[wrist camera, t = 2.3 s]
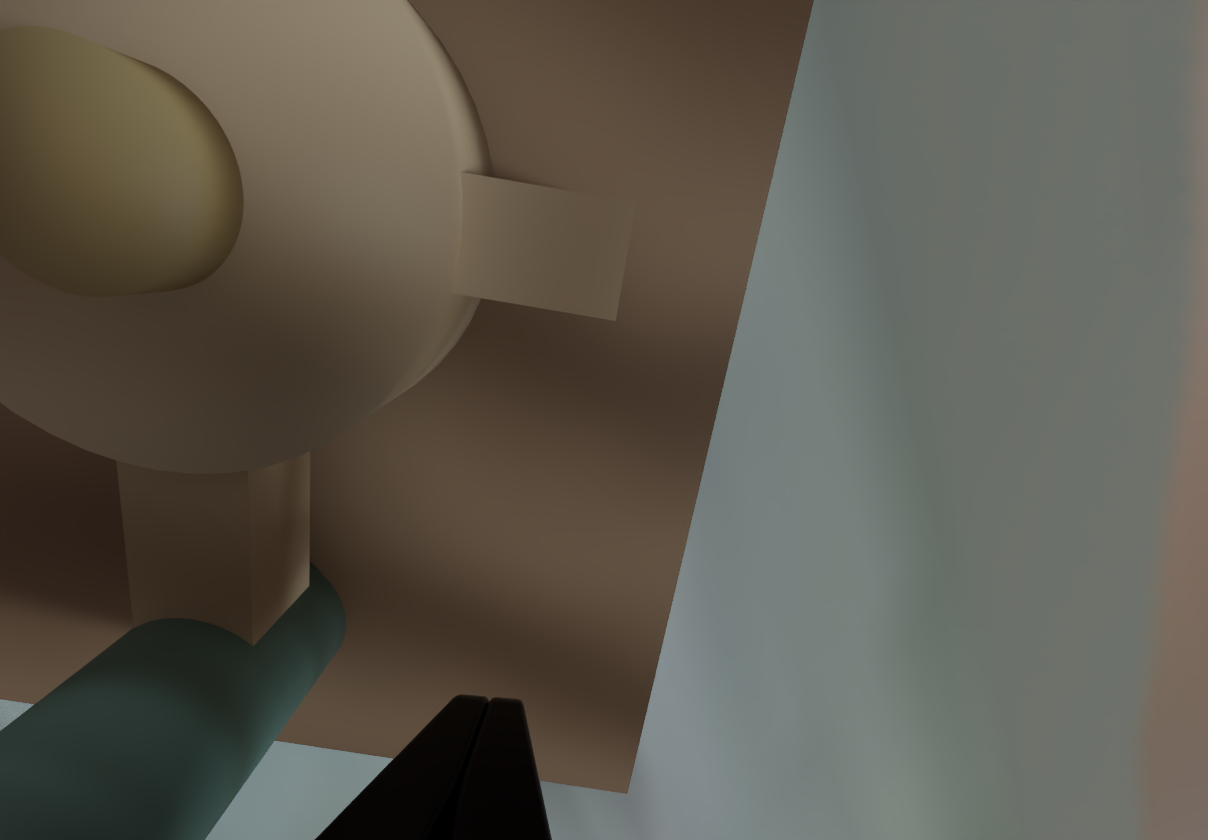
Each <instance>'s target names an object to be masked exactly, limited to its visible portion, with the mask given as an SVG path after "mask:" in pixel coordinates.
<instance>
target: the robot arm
mask: <svg viewBox="0 0 1208 840" xmlns="http://www.w3.org/2000/svg"><path fill="white" fill-rule="evenodd" d="M315 840H552V839H551V834H550V829H549V824H548V819H547V814H546V810H545V805H544V800H543V795H542V790H541V786H540V781H539V776H538V771H537V766H536V762H535V757H534V752H533V747H532V742H531V738H530V733H529V728H528V723H527V718H526V714H525V709H524V704H523V702H522V701H521V700H520V699H513V698H501V697H494V698H492V699H491V700H490V701H489V699H488V698H487V697H485V696H477V695H465V694H460V695H457V696H455V697H454V698H453V699H452V700H451V701H450V702H449V703H448V704H447V705H446V706H445V707H444V708H443V709H442V710H441V711H440V712H439V713H438V714H437V715H436V716H435V717H434V718H433V719H432V720H431V721H430V722H429V723H428V724H427V725H426V726H425V727H424V728H423V729H422V730H421V731H420V732H419V733H418V734H417V735H416V737H415V738H414V739H413V740H412V741H411V742H410V743H409V744H408V745H407V746H406V747H405V748H404V749H403V750H402V751H401V752H400V753H399V754H398V755H397V756H396V757H395V758H394V759H393V760H392V761H391V762H390V763H389V764H388V765H387V766H386V767H385V768H384V769H383V770H382V771H381V772H380V773H379V774H378V775H377V776H376V778H375V779H374V780H373V781H372V782H371V783H370V784H369V785H368V786H367V787H366V788H365V789H364V790H363V791H362V792H361V793H360V794H359V795H358V796H357V797H356V798H355V799H354V800H353V801H352V802H351V803H350V804H349V805H348V806H347V807H346V808H345V809H344V810H343V811H342V812H341V813H340V814H339V815H338V816H337V818H336V819H335V820H334V821H333V822H332V823H331V824H330V825H329V826H328V827H327V828H326V829H325V830H324V831H323V832H322V833H321V834H320V835H319V836H318V837H317V838H316V839H315Z"/></svg>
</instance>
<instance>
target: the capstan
mask: <svg viewBox="0 0 1208 840" xmlns="http://www.w3.org/2000/svg"><path fill="white" fill-rule="evenodd" d="M635 204H636V202H631V201H625V200H619V199H614V198H608V197H602V196H596V195H591V194H585V193H579V192H573V191H568V190H562V189H556V188H550V187H545V186H539V185H533V184H528V183H522V182H516V181H510V180H505V179H499V178H494V171H493V166H492V161H491V157H490V152H489V147H488V142H487V138H486V135H485V132H484V129H483V126H482V123H481V120H480V117H479V114H478V111H477V108H476V105H475V103H474V101H473V99H472V97H471V94H470V92H469V90H468V88H467V86H466V84H465V81H464V79H463V77H462V75H461V73H460V71H459V70H458V68H457V66H456V65H455V63H454V61H453V60H452V58H451V57H450V55H449V53H448V52H447V50H446V48H445V47H444V45H443V43H442V42H441V40H440V39H439V38H438V37H437V35H436V34H435V33H434V32H433V30H432V29H431V28H430V26H429V25H428V24H427V23H426V21H425V20H424V19H423V18H422V16H421V15H420V14H419V12H418V11H417V10H416V9H415V8H414V7H413V5H412V4H411V3H410V2H409V1H408V0H0V403H2V404H3V405H4V406H6V407H7V408H8V409H10V410H11V411H13V412H14V413H15V414H17V415H19V416H21V417H22V418H24V419H26V420H27V421H29V422H31V423H33V424H34V425H36V426H38V427H39V428H41V429H43V430H45V431H46V432H48V433H50V434H52V435H54V436H56V437H58V438H60V439H63V440H65V441H67V442H69V443H71V444H74V445H76V446H78V447H80V448H82V449H85V450H87V451H90V452H93V453H96V454H99V455H102V456H105V457H108V458H111V459H114V460H116V463H117V473H118V483H119V492H120V502H121V511H122V521H123V531H124V540H125V550H126V559H127V569H128V579H129V588H130V598H131V608H132V617H133V627H134V628H132V629H131V630H130V631H128V632H127V633H126V634H125V635H123V636H122V637H121V638H119V639H118V640H117V641H116V642H114V643H113V644H112V645H110V646H109V647H108V648H107V649H105V650H104V651H103V652H101V653H100V654H99V655H98V656H96V657H95V658H94V659H92V660H91V661H90V662H89V663H87V664H86V665H85V666H83V667H82V668H81V669H80V670H78V671H77V672H76V673H74V674H73V675H72V676H71V677H69V678H68V679H67V680H65V681H64V682H63V683H62V684H60V685H59V686H58V687H56V688H55V689H54V690H53V691H51V692H50V693H49V694H47V695H46V696H45V697H44V698H42V699H41V700H40V701H38V702H37V703H36V704H35V705H33V706H32V707H31V708H29V709H28V710H27V711H26V712H24V713H23V714H22V715H20V716H19V717H18V718H17V719H15V720H14V721H13V722H11V723H10V724H9V725H8V726H6V727H5V728H4V729H2V730H1V731H0V840H205V839H206V837H207V836H208V834H209V833H210V831H211V830H212V829H213V827H214V826H215V824H216V823H217V822H218V820H219V819H220V817H221V816H222V814H223V813H224V812H225V810H226V809H227V807H228V806H229V804H230V803H231V802H232V800H233V799H234V797H235V796H236V795H237V793H238V792H239V790H240V789H241V787H242V786H243V785H244V783H245V782H246V780H247V779H248V777H249V776H250V775H251V773H252V772H253V770H254V769H255V767H256V766H257V765H258V763H259V762H260V760H261V759H262V758H263V756H264V755H265V753H266V752H267V750H268V749H269V748H270V746H271V745H272V743H273V742H274V740H275V739H276V738H277V736H278V735H279V733H280V732H281V731H282V729H283V728H284V726H285V725H286V723H287V722H288V721H289V719H290V718H291V716H292V715H293V713H294V712H295V711H296V709H297V708H298V706H299V705H300V703H301V702H302V701H303V699H304V698H305V696H306V695H307V694H308V692H309V691H310V689H311V688H312V686H313V685H314V684H315V682H316V681H317V679H318V678H319V676H320V675H321V674H322V672H323V671H324V669H325V668H326V667H327V665H328V664H329V662H330V661H331V659H332V658H333V657H334V655H335V654H336V652H337V651H338V649H339V648H340V646H341V644H342V642H343V639H344V636H345V630H346V616H345V611H344V608H343V605H342V602H341V600H340V598H339V596H338V594H337V592H336V590H335V589H334V587H333V586H332V585H331V583H330V582H329V581H328V580H327V579H326V578H325V577H324V576H323V575H322V574H321V573H320V572H319V571H318V570H316V569H315V568H314V567H312V566H311V565H309V554H310V451H312V450H314V449H316V448H318V447H321V446H323V445H325V444H326V443H328V442H329V441H331V440H332V439H334V438H336V437H337V436H339V435H340V434H342V433H343V432H345V431H346V430H348V429H349V428H351V427H353V426H354V425H356V424H357V423H359V422H360V421H362V420H363V419H365V418H366V417H368V416H369V415H371V414H372V413H374V412H375V411H377V410H378V409H380V408H381V407H383V406H384V405H386V404H387V403H389V402H390V401H392V400H393V399H395V398H396V397H398V396H399V395H401V394H402V393H404V392H405V391H407V390H408V389H410V388H411V387H413V386H414V385H416V384H417V383H419V382H420V381H421V380H422V379H423V378H425V377H426V376H427V375H428V374H429V373H430V372H431V371H433V370H434V369H435V368H436V367H437V366H438V365H439V364H440V363H441V362H442V361H443V359H444V358H445V357H446V356H447V355H448V354H449V352H450V351H451V350H452V349H453V348H454V347H455V345H456V344H457V342H458V341H459V339H460V338H461V336H462V334H463V333H464V331H465V330H466V328H467V327H468V325H469V323H470V322H471V320H472V317H473V315H474V313H475V311H476V309H477V306H478V304H479V302H480V300H481V298H484V299H489V300H495V301H501V302H507V303H513V304H519V305H525V306H531V307H537V308H542V309H548V310H554V311H560V312H566V313H572V314H578V315H584V316H590V317H596V318H601V319H607V320H613V321H616V316H617V311H618V305H619V299H620V293H621V287H622V281H623V275H624V269H625V263H626V258H627V252H628V246H629V240H630V234H631V228H632V222H633V216H634V210H635Z"/></svg>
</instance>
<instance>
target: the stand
mask: <svg viewBox="0 0 1208 840" xmlns="http://www.w3.org/2000/svg"><path fill="white" fill-rule="evenodd" d="M408 1H409V2H410V3H411V4H412V5H413V7H414V8H415V9H416V10H417V11H418V12H419V14H420V15H421V16H422V18H423V19H424V20H425V21H426V23H427V24H428V25H429V26H430V28H431V29H432V30H433V32H434V33H435V34H436V35H437V37H438V38H439V39H440V40H441V42H442V43H443V45H444V47H445V48H446V50H447V52H448V53H449V55H450V57H451V58H452V60H453V61H454V63H455V65H456V66H457V68H458V70H459V71H460V73H461V75H462V77H463V79H464V81H465V84H466V86H467V88H468V90H469V92H470V94H471V97H472V99H473V101H474V103H475V105H476V108H477V111H478V114H479V117H480V120H481V123H482V126H483V129H484V132H485V135H486V138H487V142H488V147H489V152H490V157H491V161H492V166H493V171H494V178H499V179H505V180H510V181H516V182H522V183H528V184H533V185H539V186H545V187H550V188H556V189H562V190H568V191H573V192H579V193H585V194H591V195H596V196H602V197H608V198H614V199H619V200H625V201H631V202H636V204H635V210H634V216H633V222H632V228H631V234H630V240H629V246H628V252H627V258H626V263H625V269H624V275H623V281H622V287H621V293H620V299H619V305H618V311H617V316H616V321H613V320H607V319H601V318H596V317H590V316H584V315H578V314H572V313H566V312H560V311H554V310H548V309H542V308H537V307H531V306H525V305H519V304H513V303H507V302H501V301H495V300H489V299H484V298H481V300H480V302H479V304H478V306H477V309H476V311H475V313H474V315H473V317H472V320H471V322H470V323H469V325H468V327H467V328H466V330H465V331H464V333H463V334H462V336H461V338H460V339H459V341H458V342H457V344H456V345H455V347H454V348H453V349H452V350H451V351H450V352H449V354H448V355H447V356H446V357H445V358H444V359H443V361H442V362H441V363H440V364H439V365H438V366H437V367H436V368H435V369H434V370H433V371H431V372H430V373H429V374H428V375H427V376H426V377H425V378H423V379H422V380H421V381H420V382H419V383H417V384H416V385H414V386H413V387H411V388H410V389H408V390H407V391H405V392H404V393H402V394H401V395H399V396H398V397H396V398H395V399H393V400H392V401H390V402H389V403H387V404H386V405H384V406H383V407H381V408H380V409H378V410H377V411H375V412H374V413H372V414H371V415H369V416H368V417H366V418H365V419H363V420H362V421H360V422H359V423H357V424H356V425H354V426H353V427H351V428H349V429H348V430H346V431H345V432H343V433H342V434H340V435H339V436H337V437H336V438H334V439H332V440H331V441H329V442H328V443H326V444H325V445H323V446H321V447H318V448H316V449H314V450H312V451H310V554H309V565H311V566H312V567H314V568H315V569H316V570H318V571H319V572H320V573H321V574H322V575H323V576H324V577H325V578H326V579H327V580H328V581H329V582H330V583H331V585H332V586H333V587H334V589H335V590H336V592H337V594H338V596H339V598H340V600H341V602H342V605H343V608H344V611H345V616H346V630H345V636H344V639H343V642H342V644H341V646H340V648H339V649H338V651H337V652H336V654H335V655H334V657H333V658H332V659H331V661H330V662H329V664H328V665H327V667H326V668H325V669H324V671H323V672H322V674H321V675H320V676H319V678H318V679H317V681H316V682H315V684H314V685H313V686H312V688H311V689H310V691H309V692H308V694H307V695H306V696H305V698H304V699H303V701H302V702H301V703H300V705H299V706H298V708H297V709H296V711H295V712H294V713H293V715H292V716H291V718H290V719H289V721H288V722H287V723H286V725H285V726H284V728H283V729H282V731H281V732H280V733H279V735H278V736H277V738H276V739H275V741H281V742H288V743H295V744H301V745H308V746H315V747H321V748H328V749H334V750H341V751H348V752H354V753H361V754H368V755H374V756H381V757H387V758H395V757H396V756H397V755H398V754H399V753H400V752H401V751H402V750H403V749H404V748H405V747H406V746H407V745H408V744H409V743H410V742H411V741H412V740H413V739H414V738H415V737H416V735H417V734H418V733H419V732H420V731H421V730H422V729H423V728H424V727H425V726H426V725H427V724H428V723H429V722H430V721H431V720H432V719H433V718H434V717H435V716H436V715H437V714H438V713H439V712H440V711H441V710H442V709H443V708H444V707H445V706H446V705H447V704H448V703H449V702H450V701H451V700H452V699H453V698H454V697H455V696H457V695H460V694H465V695H477V696H485V697H487V698H488V699H489V701H490V700H491V699H492V698H494V697H501V698H513V699H520V700H521V701H522V702H523V704H524V709H525V714H526V718H527V723H528V728H529V733H530V738H531V742H532V747H533V752H534V757H535V762H536V766H537V771H538V776H539V780H540V781H547V782H553V783H560V784H566V785H573V786H580V787H586V788H593V789H600V790H606V791H613V792H619V793H626V794H627V793H628V788H629V784H630V780H631V776H632V771H633V767H634V763H635V758H636V754H637V750H638V746H639V741H640V737H641V733H642V729H643V724H644V720H645V716H646V712H647V707H648V703H649V699H650V695H651V690H652V686H653V682H654V678H655V673H656V669H657V665H658V661H659V656H660V652H661V648H662V644H663V639H664V635H665V631H666V627H667V622H668V618H669V614H670V609H671V605H672V601H673V597H674V592H675V588H676V584H677V580H678V575H679V571H680V567H681V563H682V558H683V554H684V550H685V546H686V541H687V537H688V533H689V529H690V524H691V520H692V516H693V512H694V507H695V503H696V499H697V495H698V490H699V486H700V482H701V478H702V473H703V469H704V465H705V460H706V456H707V452H708V448H709V443H710V439H711V435H712V431H713V426H714V422H715V418H716V414H717V409H718V405H719V401H720V397H721V392H722V388H723V384H724V380H725V375H726V371H727V367H728V363H729V358H730V354H731V350H732V346H733V341H734V337H735V333H736V329H737V324H738V320H739V316H740V311H741V307H742V303H743V299H744V294H745V290H746V286H747V282H748V277H749V273H750V269H751V265H752V260H753V256H754V252H755V248H756V243H757V239H758V235H759V231H760V226H761V222H762V218H763V214H764V209H765V205H766V201H767V197H768V192H769V188H770V184H771V180H772V175H773V171H774V167H775V162H776V158H777V154H778V150H779V145H780V141H781V137H782V133H783V128H784V124H785V120H786V116H787V111H788V107H789V103H790V99H791V94H792V90H793V86H794V82H795V77H796V73H797V69H798V65H799V60H800V56H801V52H802V48H803V43H804V39H805V35H806V31H807V26H808V22H809V18H810V13H811V9H812V5H813V1H814V0H408ZM132 628H134V627H133V617H132V608H131V598H130V588H129V579H128V569H127V559H126V550H125V540H124V531H123V521H122V511H121V502H120V492H119V483H118V473H117V463H116V460H114V459H111V458H108V457H105V456H102V455H99V454H96V453H93V452H90V451H87V450H85V449H82V448H80V447H78V446H76V445H74V444H71V443H69V442H67V441H65V440H63V439H60V438H58V437H56V436H54V435H52V434H50V433H48V432H46V431H45V430H43V429H41V428H39V427H38V426H36V425H34V424H33V423H31V422H29V421H27V420H26V419H24V418H22V417H21V416H19V415H17V414H15V413H14V412H13V411H11V410H10V409H8V408H7V407H6V406H4V405H3V404H2V403H0V699H3V700H10V701H16V702H23V703H30V704H36V703H37V702H38V701H40V700H41V699H42V698H44V697H45V696H46V695H47V694H49V693H50V692H51V691H53V690H54V689H55V688H56V687H58V686H59V685H60V684H62V683H63V682H64V681H65V680H67V679H68V678H69V677H71V676H72V675H73V674H74V673H76V672H77V671H78V670H80V669H81V668H82V667H83V666H85V665H86V664H87V663H89V662H90V661H91V660H92V659H94V658H95V657H96V656H98V655H99V654H100V653H101V652H103V651H104V650H105V649H107V648H108V647H109V646H110V645H112V644H113V643H114V642H116V641H117V640H118V639H119V638H121V637H122V636H123V635H125V634H126V633H127V632H128V631H130V630H131V629H132Z"/></svg>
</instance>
